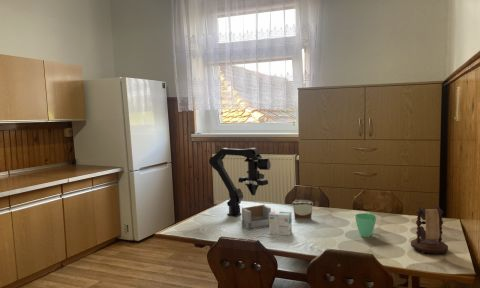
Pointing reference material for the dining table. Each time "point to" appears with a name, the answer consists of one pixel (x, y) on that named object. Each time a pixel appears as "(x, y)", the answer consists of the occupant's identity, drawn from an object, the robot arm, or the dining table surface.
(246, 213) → the grey u-channel
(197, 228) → the dining table surface
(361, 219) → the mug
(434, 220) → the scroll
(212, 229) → the dining table surface
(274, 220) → the light bulb box
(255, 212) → the cover
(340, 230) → the dining table surface
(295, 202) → the food container
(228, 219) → the dining table surface
